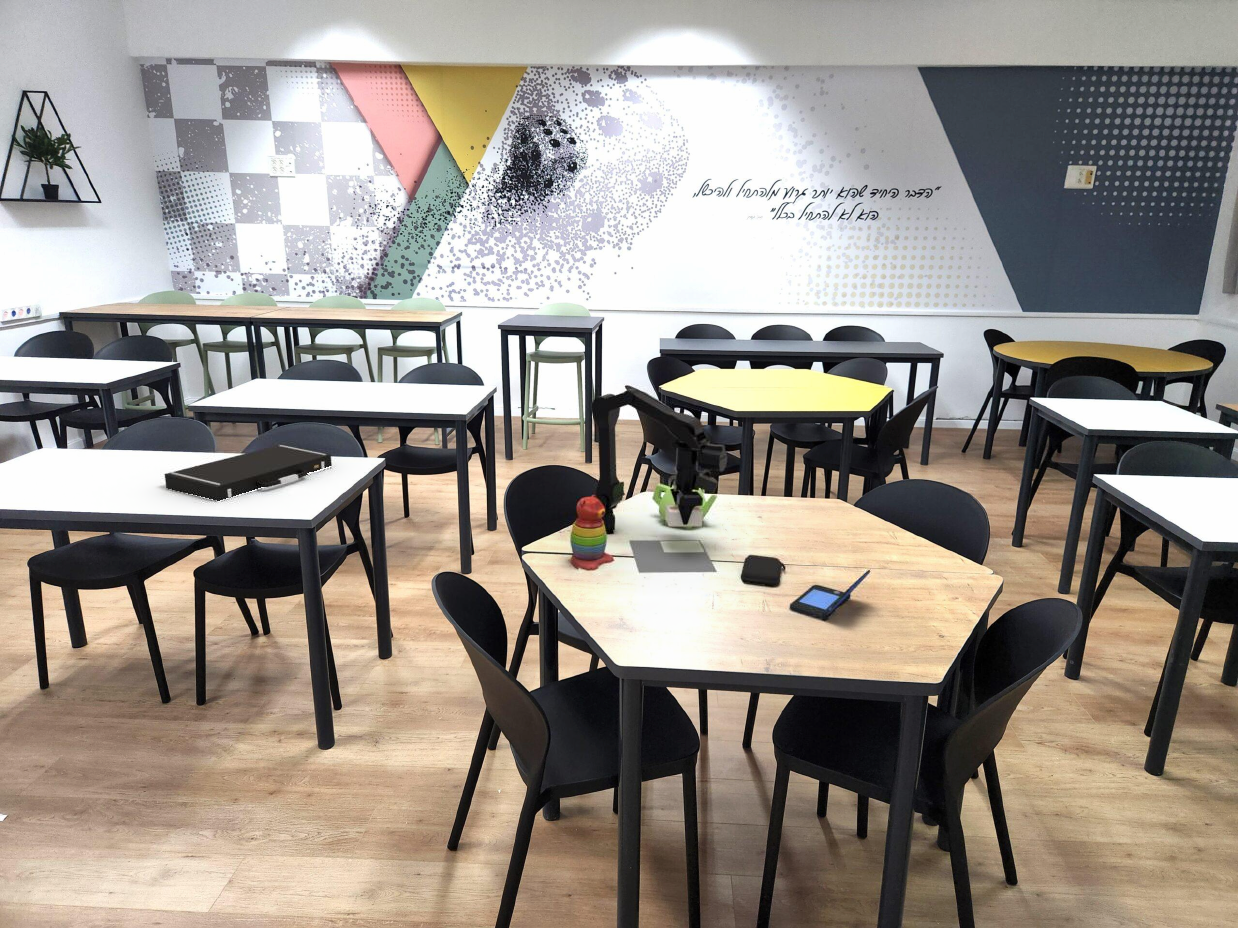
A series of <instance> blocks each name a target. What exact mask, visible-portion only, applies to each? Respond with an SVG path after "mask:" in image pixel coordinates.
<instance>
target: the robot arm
mask: <svg viewBox="0 0 1238 928" xmlns="http://www.w3.org/2000/svg"><path fill="white" fill-rule="evenodd" d="M626 406H631V407H632V408H634V409H635V410H637V411H638V412H640V413H642V414H644V415H645V416H647V417H649V418H651V419H652V420H654V421H655V422H657V423H659V424H661V425H663V426H664V427H665V428H666V429H667V430H668V431H669V433H670V434H671V435H672V436H673V437H675V438H674V440H673V441H672V442H671V443H670V444H669V445H668V447H669V448H672V449H674V448H675V449H676V455H675V456H676V458H675V465H674V467H673V470H674V472H675V473H674V475H671V476H670V477H669V478H668V485H667V486H669V487H670V488H672V486H673V489H670V491H671V494H672V496H673V499H674V502H675V505H677V506H678V509H679V512H680V515H681V519H682V522H683V524H684V525H687V524H688V521H689V519H690V516H691V513H692V510H693V508H694V507H696V506H702V505H703V498H702V496H701V495H700V493H699V492H698V491H693V490H699V488H700V489H701V490H702V491H703V490H704V491H706V492H708V493H710V494H714V493H715V491H716V489H717V487H718V484H719V482H718V481H717V479H716V478H714V477H712V473H711V471H717V472H723V471H725V469H726V467H727V462H728V455H727V451H726V445H724V444H715V443H710V442H711V441H710V438H708V436H707V434H706V432H705V431H704V429H703V424H702V421H701V420H700V419H699V418H697V417H696V416H695V417H694V416H692V415H689V414H686V413H681V412H677V411H674V410H672V409H671V408H669V407H667V406H666V405H664V404H663V403H660V402H658V401H656V400H655V399H653V398H651V397H650V396H648V395H646V393H645V394H644V393H643V392H641V391H640V389H638V388H630V389H627V390H625V391H623V392H621V393H618V394H614V393H607V394H604V395H601V396H597V397H595V398H594V399H593V400H592V401H591V404H590V409H591V414H592V419H593V421H594V423H595V425H596V427H597V439H598V464H599V466H598V469H599V470H598V471H599V473H598V474H599V478H598V480H597V483H596V486H595V490H594V495H596V498H597V499H599V500H600V501H601V503H602V504H603V506H604V508H605V513H604V515H603V517H602V518H601V519H602V520H603V521H604V525H605V530H606V534H607V535H614V534H615V533H614V531H615V530H616V516H615V515H616V514H614V509H616V508H617V506H618V504H620V503H621V502H622V500H623V498H624V496H626V495H625V490H624V489H625V487H624V486H625V481H620V480H619V478H618V477H617V476H618V475H617V450H616V449H617V448H616V447H617V445H616V444H617V443H616V425H617V423H618V420H619V418H620V413H621V408H623V407H626ZM698 467H700V468H701V469H704V470H703V471H702V472H700V471H699V469H698ZM709 470H711V471H709Z"/></svg>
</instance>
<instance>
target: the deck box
mask: <svg viewBox="0 0 1238 928" xmlns="http://www.w3.org/2000/svg"><path fill="white" fill-rule="evenodd" d="M702 517H703V512H702V510H701V508H700V507H699V506H696V507H694V508H693V510H692V513H691V516H690V519H689V521H688V524H687V525H684V524H683V522H682V519H681V515H680V512H679V509H678V506H677V505H666V514H665V519H666V520H665V522H667V524H668V525H667V526H668V527H684V526H692V527H703V519H702Z"/></svg>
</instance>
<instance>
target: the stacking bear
mask: <svg viewBox="0 0 1238 928" xmlns="http://www.w3.org/2000/svg"><path fill="white" fill-rule="evenodd" d="M576 513H577V516H578V517H577V518H576V520H575V521H574V522H573V523H572V527H571V532H570V537H569V538H570V540H569V541H570V547H571V552H572V555H571V558H570V563H571V565H572V566H573V567H575V568H576V569H577V570H578V569H581V570H584V571H596V570H598V569H599V567H600V566H602V565H604V564H605V565H606V564H610V563H611V564H612V562H615V559H614V556H613V555H611V554H609V553H607V552H605V551H606V547H607V542H608V541H607V539H608V534H606V530H605V525H604V521H603V520H602V519H601V518H602V517H603V515H604V513H605V508H604V506H603V504H602V503H601V501H600V500H599V499H597V498H596V495H595V494H592V495H591V496H585V497H582V498H580V500H579V501H578V502H577V505H576Z"/></svg>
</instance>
